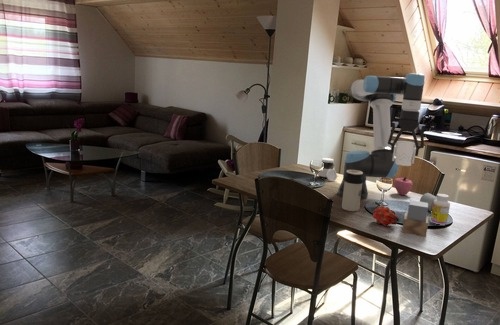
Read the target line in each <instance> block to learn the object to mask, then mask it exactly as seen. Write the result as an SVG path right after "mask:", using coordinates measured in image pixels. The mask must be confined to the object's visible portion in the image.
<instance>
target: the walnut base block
mask: <svg viewBox="0 0 500 325" xmlns="http://www.w3.org/2000/svg"><path fill="white" fill-rule="evenodd" d="M403 216H404V217H403V222H402V229H401V230H402V231H401V233H402V234H408V235H413V236H418V237H424V238H426V237H427V235H428V234H427V233H428V227H429V217H428V215H427V217H426V222H423V221H418V220H412V219H407V216H408V212H404V215H403Z"/></svg>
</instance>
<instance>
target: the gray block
mask: <svg viewBox="0 0 500 325" xmlns="http://www.w3.org/2000/svg"><path fill="white" fill-rule="evenodd" d="M428 211H429V210H428V203H426V202H420V200H419V201H418V200H413V199H409V203H408V209H407V213H408V216H407V219H412V220H418V221H423V222H426V217H427V216H428Z"/></svg>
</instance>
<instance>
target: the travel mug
mask: <svg viewBox="0 0 500 325" xmlns="http://www.w3.org/2000/svg"><path fill="white" fill-rule="evenodd" d="M346 172H347V175H346V177H345V182H344V191H343V197H342V202H341V208H342V209H343V210H345V211H348V212H358V211H359V210H360V204H361V199H360V198H361V190H362V182H363V179H362V174H363V172H361V171H358V170H347V171H346Z"/></svg>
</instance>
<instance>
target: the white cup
mask: <svg viewBox="0 0 500 325" xmlns="http://www.w3.org/2000/svg"><path fill="white" fill-rule="evenodd" d="M395 146H396V151H395V164H397V165H399V166H402V167H410V166H412V159H413V153H414V149H415V148H416V146H415V142H413V141H409V140H397V142H396V144H395Z"/></svg>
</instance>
